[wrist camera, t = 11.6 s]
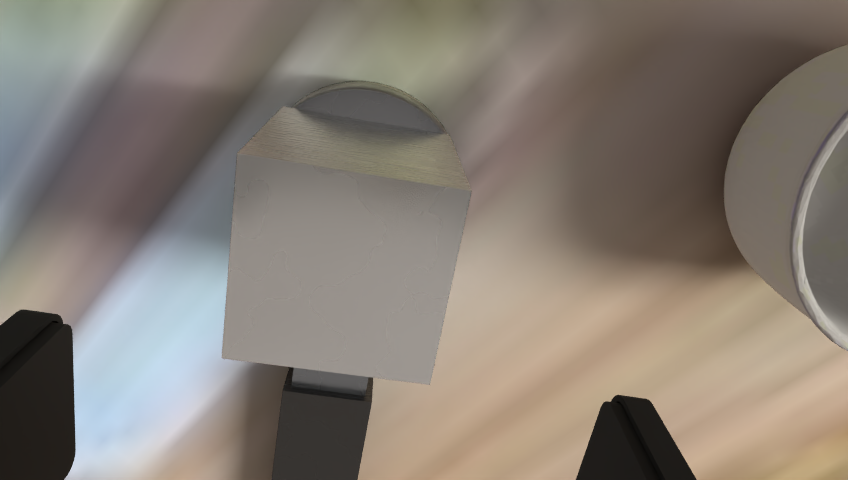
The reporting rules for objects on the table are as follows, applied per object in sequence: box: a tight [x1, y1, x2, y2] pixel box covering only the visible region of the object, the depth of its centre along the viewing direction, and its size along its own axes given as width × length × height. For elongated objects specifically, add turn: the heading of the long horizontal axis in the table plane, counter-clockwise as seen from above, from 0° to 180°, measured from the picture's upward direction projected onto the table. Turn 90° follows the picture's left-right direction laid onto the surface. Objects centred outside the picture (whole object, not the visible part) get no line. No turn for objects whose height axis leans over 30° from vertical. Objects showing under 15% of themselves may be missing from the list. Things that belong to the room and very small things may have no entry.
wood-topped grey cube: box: [222, 106, 472, 385], centre depth 20 cm, size 6×6×7 cm
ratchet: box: [272, 81, 447, 480], centre depth 26 cm, size 21×8×6 cm, turn 170°
